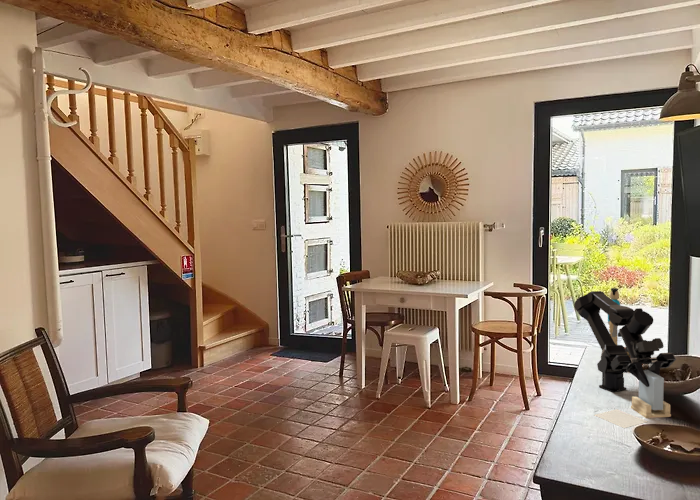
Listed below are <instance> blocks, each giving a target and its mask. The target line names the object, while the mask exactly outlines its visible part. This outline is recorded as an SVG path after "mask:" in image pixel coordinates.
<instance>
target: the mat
mask: <svg viewBox="0 0 700 500" xmlns="http://www.w3.org/2000/svg"><path fill="white" fill-rule="evenodd" d="M594 416H595V417H598V418H600V419H602V420H604V421H606V422H610V423H612V424H614V425H616V426H619V427H620V428H623V429H626V428H630V427H634V426H638V425H642V424H644V423H648V422H649V421H647V420H645V419H643V418H640V417H637V416H635V415H633V414H630V413H627V412H625V411H622V410H620V409H617V408H616V409H612V410H608V411H605V412H601V413H597V414H594Z"/></svg>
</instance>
